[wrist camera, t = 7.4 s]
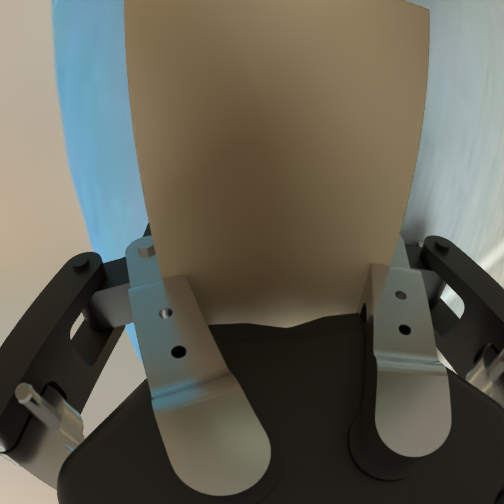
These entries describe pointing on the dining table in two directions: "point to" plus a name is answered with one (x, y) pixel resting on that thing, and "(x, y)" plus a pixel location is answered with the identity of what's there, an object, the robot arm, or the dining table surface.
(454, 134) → the dining table surface
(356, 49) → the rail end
